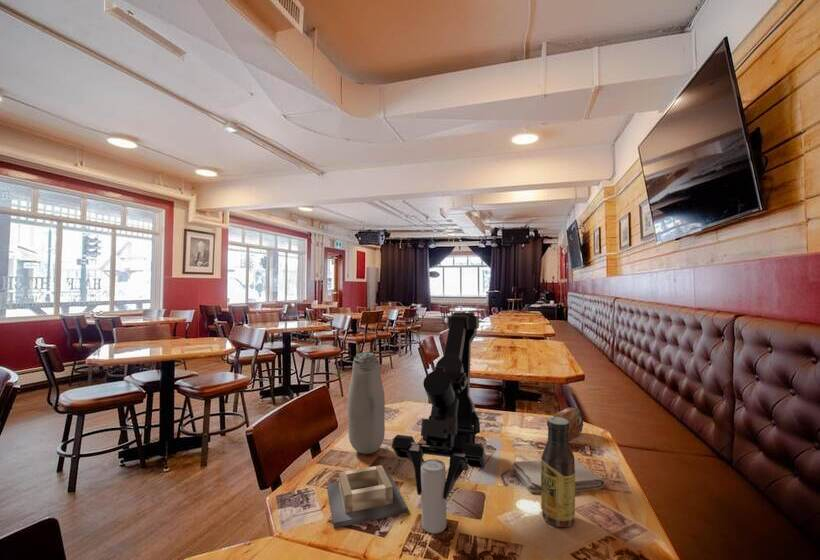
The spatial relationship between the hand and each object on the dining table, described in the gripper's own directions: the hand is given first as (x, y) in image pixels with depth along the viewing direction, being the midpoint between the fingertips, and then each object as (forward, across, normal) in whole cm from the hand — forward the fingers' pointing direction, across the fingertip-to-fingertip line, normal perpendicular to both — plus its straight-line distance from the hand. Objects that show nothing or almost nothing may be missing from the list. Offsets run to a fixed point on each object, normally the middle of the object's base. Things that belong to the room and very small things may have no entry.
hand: (431, 496), depth 71 cm
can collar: (0, -17, +9) cm, 19 cm away
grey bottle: (-15, -26, +25) cm, 39 cm away
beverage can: (+4, 0, +6) cm, 7 cm away
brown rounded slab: (-32, +29, +42) cm, 60 cm away
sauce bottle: (-2, +23, +12) cm, 26 cm away
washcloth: (-14, +24, +24) cm, 36 cm away
